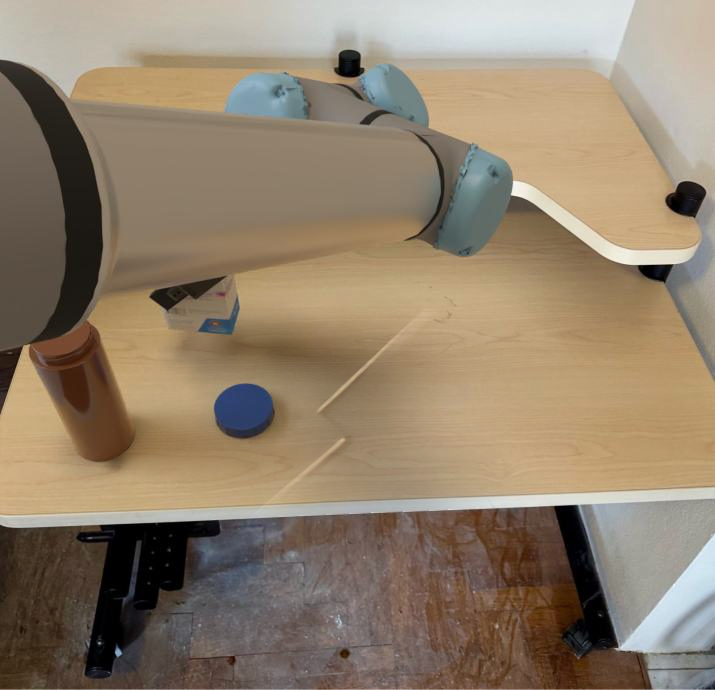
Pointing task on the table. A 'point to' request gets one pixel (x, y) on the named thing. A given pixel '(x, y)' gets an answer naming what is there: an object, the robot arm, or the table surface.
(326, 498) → the table surface
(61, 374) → the jar
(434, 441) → the table surface
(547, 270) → the table surface
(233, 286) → the ink box
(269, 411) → the lid
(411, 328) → the table surface
